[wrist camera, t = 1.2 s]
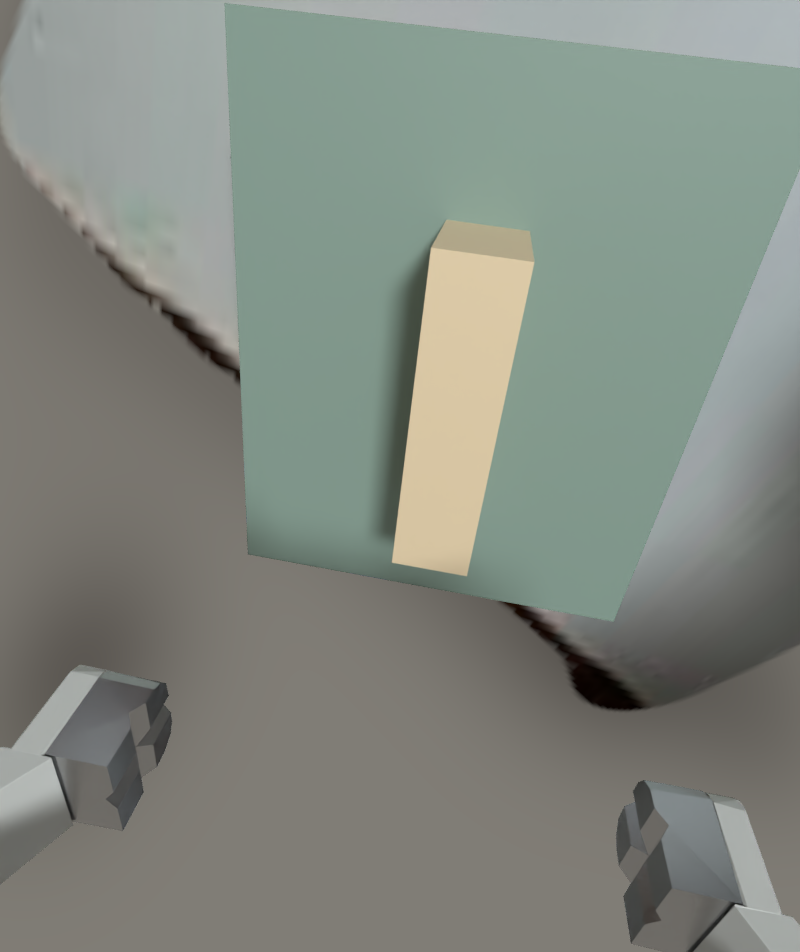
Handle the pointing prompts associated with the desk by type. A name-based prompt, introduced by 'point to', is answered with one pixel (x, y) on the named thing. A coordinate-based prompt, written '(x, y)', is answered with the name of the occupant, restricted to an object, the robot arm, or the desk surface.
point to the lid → (485, 291)
